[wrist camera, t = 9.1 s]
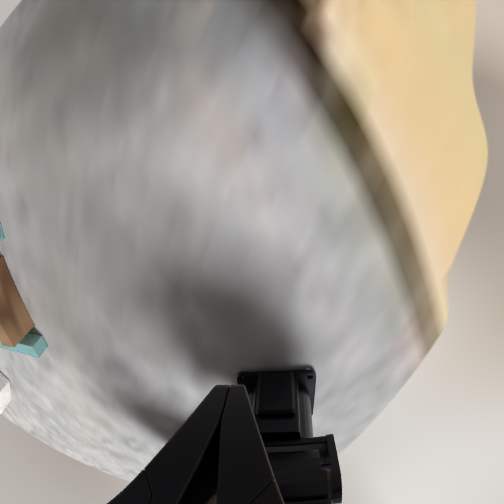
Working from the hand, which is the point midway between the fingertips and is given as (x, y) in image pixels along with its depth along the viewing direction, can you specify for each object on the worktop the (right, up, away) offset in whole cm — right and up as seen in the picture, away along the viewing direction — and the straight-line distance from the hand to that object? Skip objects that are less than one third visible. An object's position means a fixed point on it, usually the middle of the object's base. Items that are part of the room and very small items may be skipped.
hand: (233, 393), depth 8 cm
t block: (-27, -1, +15) cm, 31 cm away
